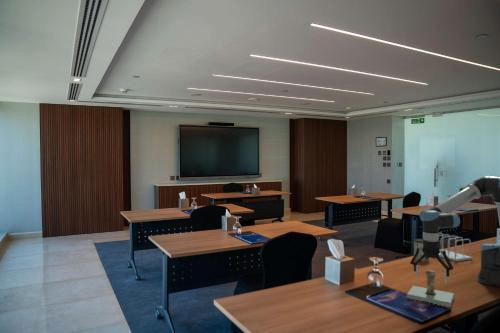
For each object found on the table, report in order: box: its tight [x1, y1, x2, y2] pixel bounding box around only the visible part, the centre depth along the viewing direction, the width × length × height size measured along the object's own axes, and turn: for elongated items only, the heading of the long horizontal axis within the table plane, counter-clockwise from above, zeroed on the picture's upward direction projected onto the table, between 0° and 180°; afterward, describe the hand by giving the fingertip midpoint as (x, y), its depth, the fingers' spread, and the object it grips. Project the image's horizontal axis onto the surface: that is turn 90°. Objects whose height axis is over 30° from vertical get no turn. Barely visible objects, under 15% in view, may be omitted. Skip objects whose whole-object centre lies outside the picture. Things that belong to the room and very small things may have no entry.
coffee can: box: [413, 238, 430, 262], centre depth 261 cm, size 10×10×14 cm
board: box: [406, 285, 455, 308], centre depth 188 cm, size 20×15×2 cm
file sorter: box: [439, 232, 473, 263], centre depth 268 cm, size 25×17×16 cm
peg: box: [425, 269, 437, 296], centre depth 188 cm, size 5×5×14 cm
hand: (431, 279), depth 188 cm, fingers open, 13 cm apart
